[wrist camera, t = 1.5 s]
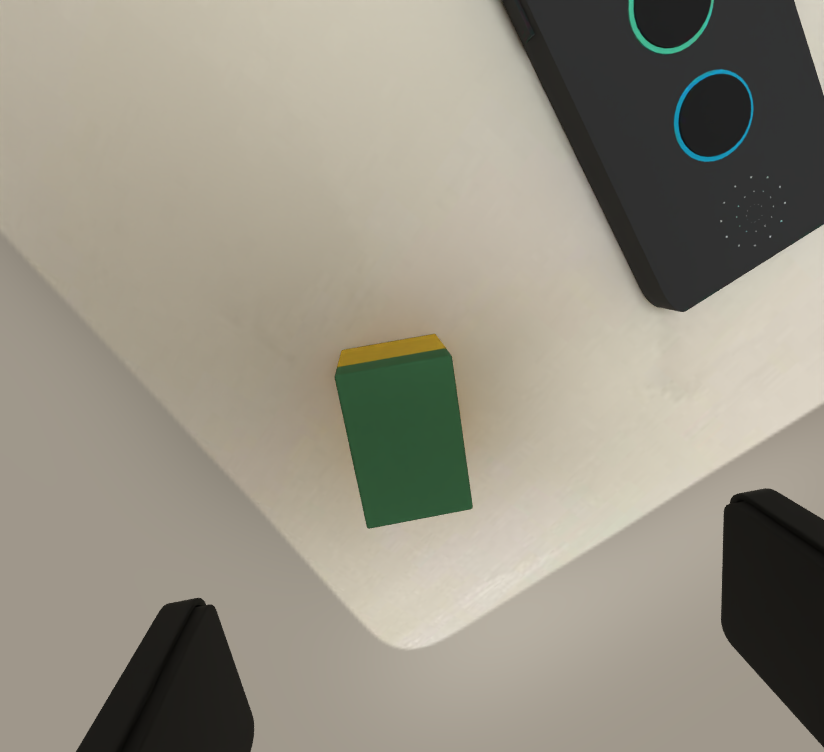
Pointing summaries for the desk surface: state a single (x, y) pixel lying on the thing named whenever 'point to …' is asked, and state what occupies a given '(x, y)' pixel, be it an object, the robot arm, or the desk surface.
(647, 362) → the desk surface
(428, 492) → the sponge
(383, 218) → the desk surface
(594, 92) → the smart home device
